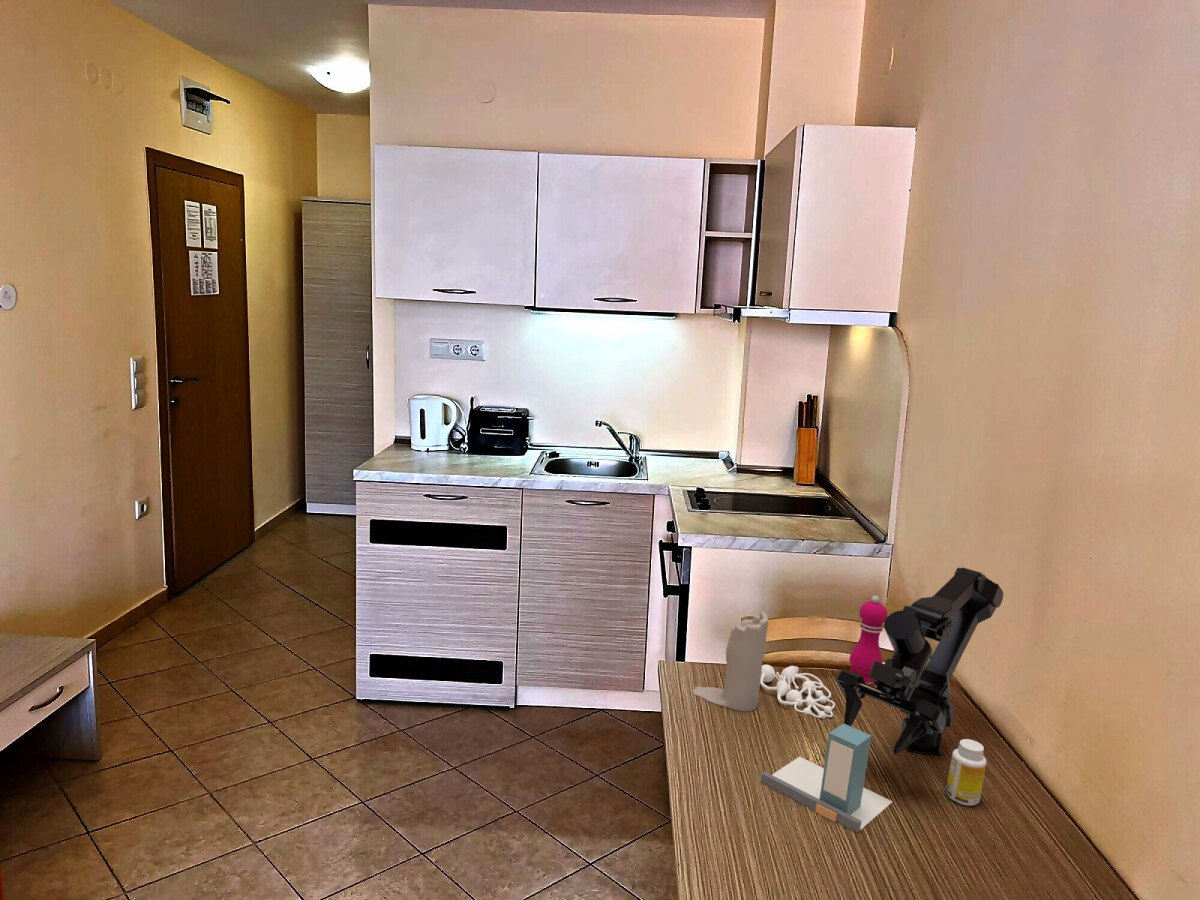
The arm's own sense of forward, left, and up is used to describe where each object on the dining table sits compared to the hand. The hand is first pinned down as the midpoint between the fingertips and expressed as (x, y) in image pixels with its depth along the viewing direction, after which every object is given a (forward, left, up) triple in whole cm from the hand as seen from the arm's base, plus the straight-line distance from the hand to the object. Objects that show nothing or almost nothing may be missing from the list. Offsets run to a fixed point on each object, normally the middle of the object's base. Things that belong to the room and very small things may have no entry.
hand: (869, 742), depth 150 cm
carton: (+5, +7, -8) cm, 12 cm away
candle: (+23, -29, -10) cm, 38 cm away
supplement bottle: (-18, -3, -10) cm, 21 cm away
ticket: (+8, +11, -10) cm, 16 cm away
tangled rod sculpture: (+7, -35, -10) cm, 37 cm away
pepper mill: (-9, -48, -10) cm, 50 cm away
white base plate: (+7, +3, -9) cm, 12 cm away
